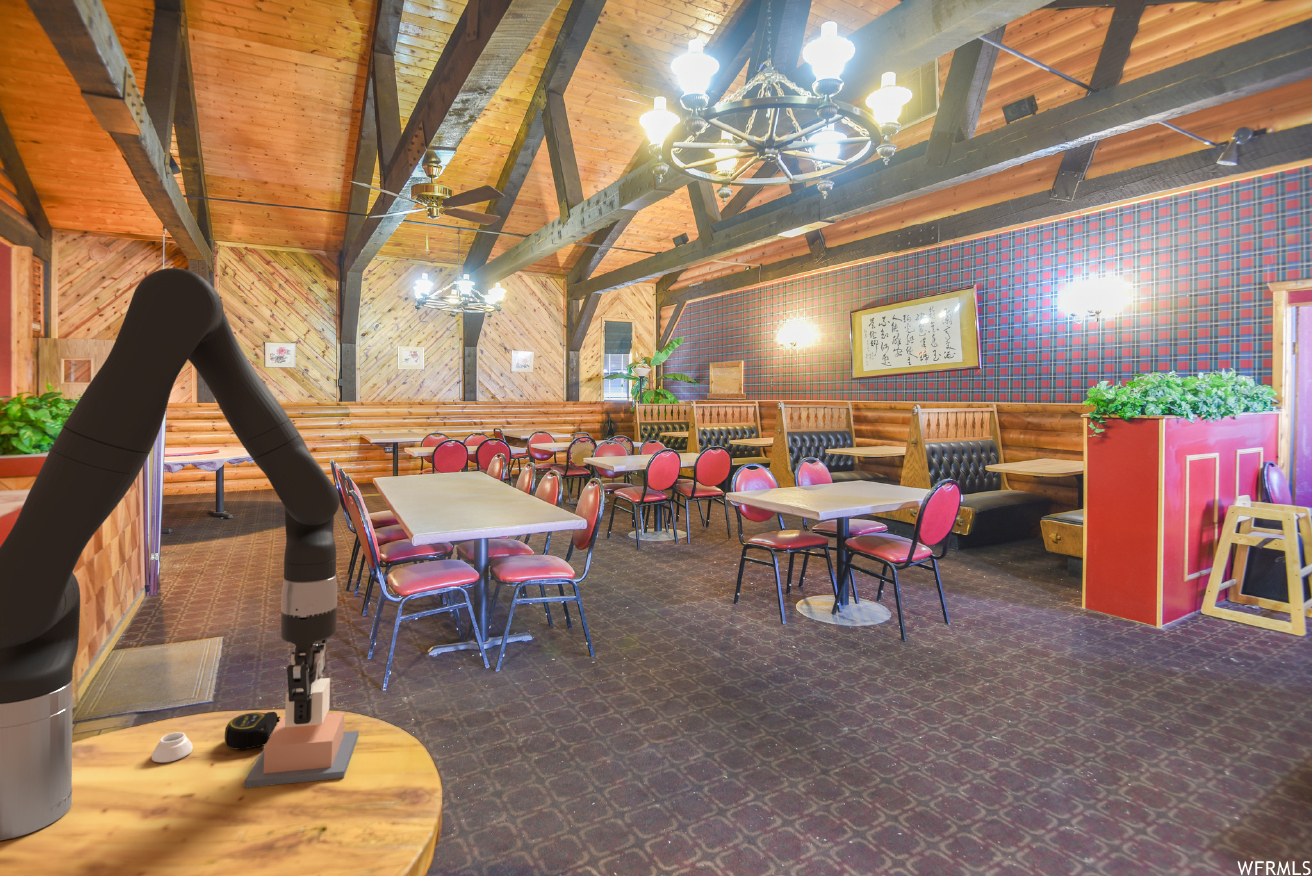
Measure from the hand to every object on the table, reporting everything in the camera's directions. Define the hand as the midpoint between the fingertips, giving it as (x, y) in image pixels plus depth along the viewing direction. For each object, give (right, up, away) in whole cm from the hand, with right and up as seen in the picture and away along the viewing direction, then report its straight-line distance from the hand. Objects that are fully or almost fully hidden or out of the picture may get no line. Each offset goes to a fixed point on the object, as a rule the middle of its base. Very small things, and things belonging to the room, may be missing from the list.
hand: (307, 713), depth 98 cm
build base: (0, -7, 0) cm, 7 cm away
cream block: (0, -1, 0) cm, 1 cm away
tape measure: (-11, -7, +5) cm, 14 cm away
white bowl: (-21, -7, 0) cm, 22 cm away
